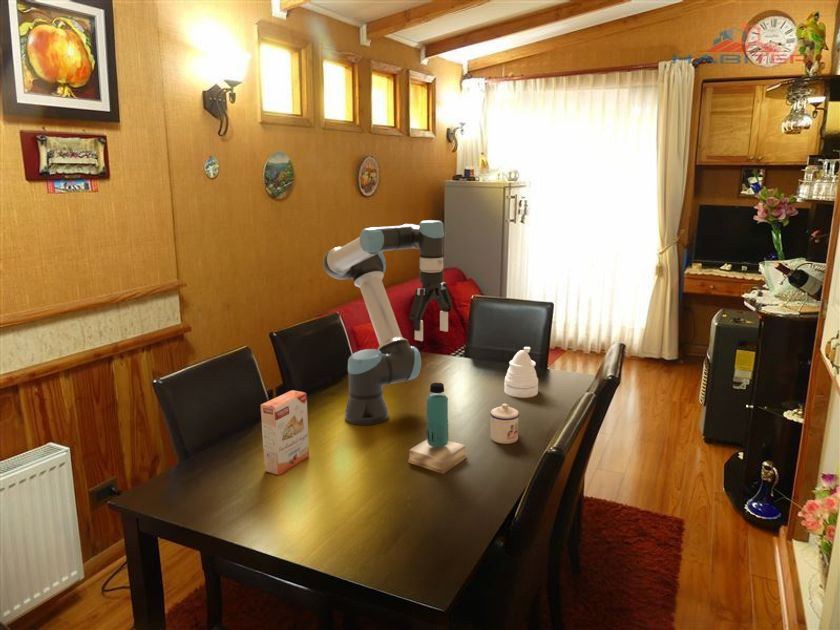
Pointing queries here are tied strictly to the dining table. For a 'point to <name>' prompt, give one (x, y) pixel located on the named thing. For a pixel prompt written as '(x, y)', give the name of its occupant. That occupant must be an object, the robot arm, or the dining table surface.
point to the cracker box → (285, 431)
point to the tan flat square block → (437, 456)
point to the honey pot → (521, 376)
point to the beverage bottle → (437, 416)
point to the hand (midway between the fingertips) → (431, 335)
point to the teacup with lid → (504, 424)
